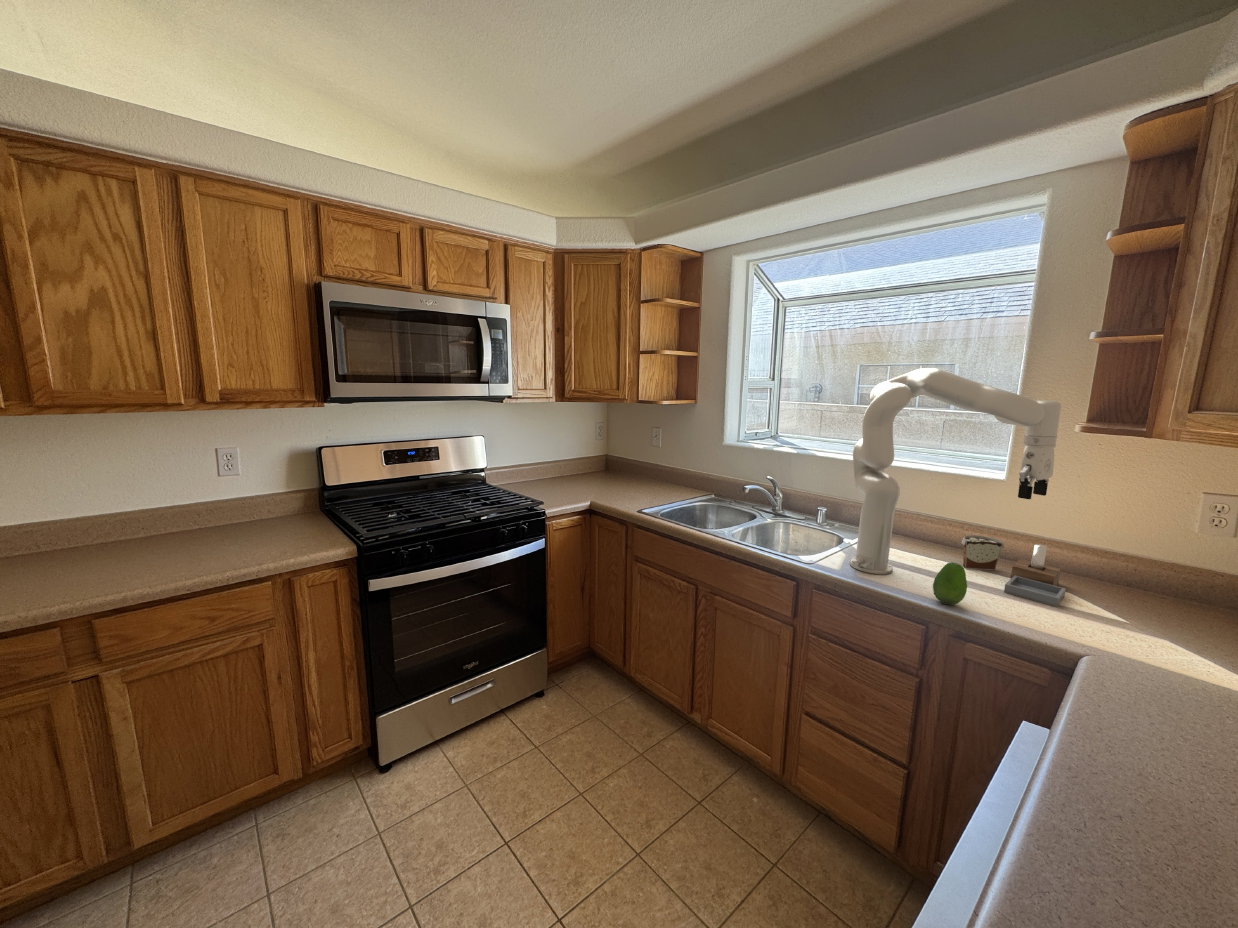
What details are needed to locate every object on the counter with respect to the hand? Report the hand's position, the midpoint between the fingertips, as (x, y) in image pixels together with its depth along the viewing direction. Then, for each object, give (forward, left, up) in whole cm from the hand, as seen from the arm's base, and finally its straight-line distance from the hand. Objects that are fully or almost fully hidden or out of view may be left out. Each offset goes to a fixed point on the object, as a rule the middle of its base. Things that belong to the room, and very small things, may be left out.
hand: (1032, 496), depth 152 cm
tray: (-11, -6, -27) cm, 30 cm away
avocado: (-39, +8, -27) cm, 48 cm away
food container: (+2, +12, -27) cm, 30 cm away
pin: (0, -4, -27) cm, 27 cm away
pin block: (0, -4, -27) cm, 27 cm away
